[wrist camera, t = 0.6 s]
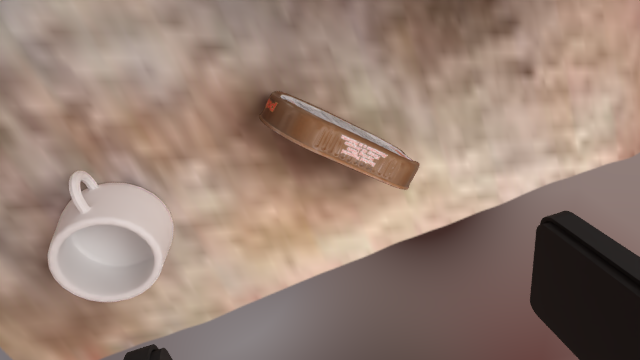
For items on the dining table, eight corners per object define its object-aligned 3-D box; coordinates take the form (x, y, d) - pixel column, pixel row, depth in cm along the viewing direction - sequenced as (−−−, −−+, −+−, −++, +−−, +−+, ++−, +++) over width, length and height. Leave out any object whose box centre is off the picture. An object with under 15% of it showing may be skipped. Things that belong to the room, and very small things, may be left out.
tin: (253, 107, 36) (263, 139, 29) (268, 76, 35) (282, 101, 28) (384, 166, 42) (420, 205, 35) (400, 140, 41) (440, 175, 34)
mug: (189, 247, 41) (186, 286, 36) (94, 277, 40) (76, 322, 35) (140, 142, 35) (127, 171, 30) (27, 174, 34) (-7, 210, 29)
